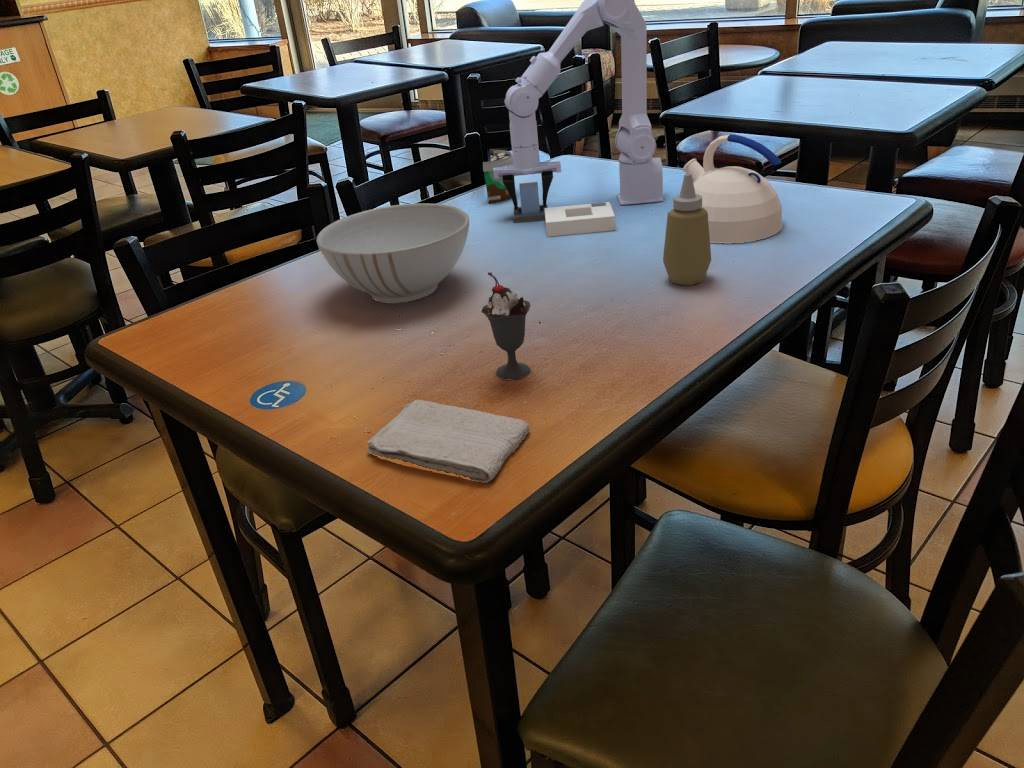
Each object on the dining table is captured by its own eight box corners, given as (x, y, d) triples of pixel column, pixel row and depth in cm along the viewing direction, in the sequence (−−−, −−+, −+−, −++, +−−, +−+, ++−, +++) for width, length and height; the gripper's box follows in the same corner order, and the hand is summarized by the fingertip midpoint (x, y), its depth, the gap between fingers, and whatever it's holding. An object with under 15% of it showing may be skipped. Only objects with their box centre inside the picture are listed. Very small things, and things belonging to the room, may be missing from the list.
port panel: (610, 215, 169) (609, 201, 167) (615, 230, 160) (614, 215, 159) (545, 221, 170) (544, 207, 168) (547, 236, 161) (545, 221, 159)
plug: (539, 212, 176) (537, 181, 172) (540, 218, 172) (537, 186, 169) (522, 214, 176) (519, 183, 173) (522, 219, 173) (519, 188, 169)
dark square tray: (547, 209, 177) (547, 204, 177) (548, 219, 171) (548, 214, 170) (514, 212, 178) (513, 207, 177) (514, 222, 171) (513, 217, 170)
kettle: (711, 206, 168) (714, 119, 160) (802, 220, 155) (810, 126, 146) (654, 233, 157) (654, 141, 148) (747, 252, 143) (752, 152, 134)
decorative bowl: (356, 335, 128) (341, 266, 122) (314, 287, 149) (299, 225, 143) (502, 293, 137) (494, 226, 131) (442, 253, 159) (433, 194, 153)
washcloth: (413, 412, 105) (409, 392, 104) (534, 433, 98) (532, 413, 96) (362, 461, 96) (357, 441, 95) (492, 489, 89) (489, 467, 87)
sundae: (488, 364, 114) (476, 267, 107) (533, 358, 115) (524, 261, 107) (491, 386, 109) (478, 285, 101) (539, 379, 109) (529, 279, 101)
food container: (512, 204, 183) (508, 161, 178) (487, 205, 185) (482, 162, 180) (522, 189, 194) (518, 148, 189) (498, 190, 195) (493, 149, 190)
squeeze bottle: (713, 271, 136) (716, 168, 128) (707, 289, 130) (710, 181, 121) (666, 269, 139) (666, 168, 130) (659, 287, 133) (658, 182, 124)
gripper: (490, 152, 163) (497, 215, 170) (559, 145, 163) (564, 209, 169) (491, 144, 170) (498, 206, 176) (558, 138, 169) (562, 200, 175)
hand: (530, 207), depth 173 cm, fingers open, 6 cm apart
